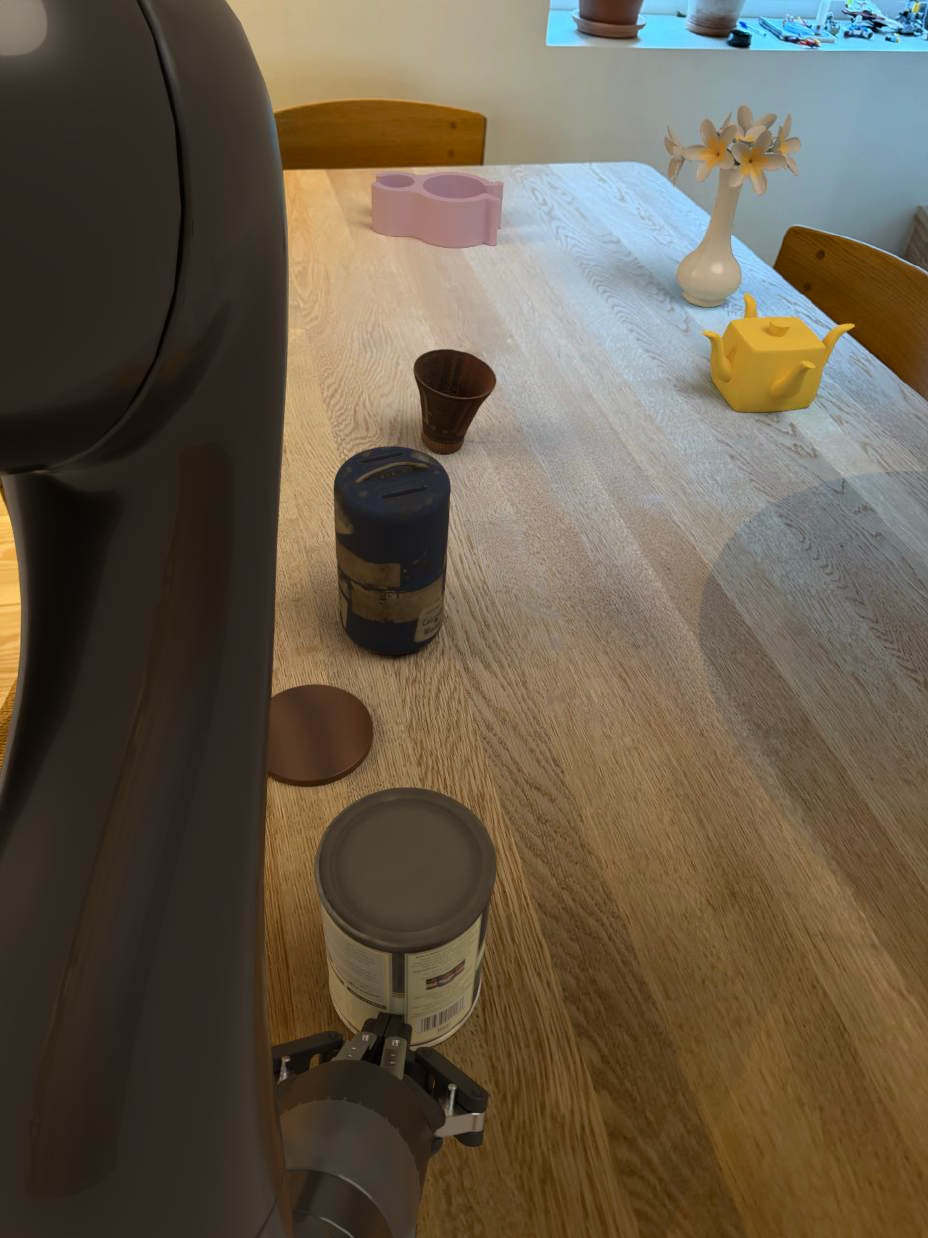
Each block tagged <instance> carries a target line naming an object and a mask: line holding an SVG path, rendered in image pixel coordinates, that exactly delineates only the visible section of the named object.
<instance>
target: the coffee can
mask: <svg viewBox="0 0 928 1238" xmlns="http://www.w3.org/2000/svg"><path fill="white" fill-rule="evenodd" d="M317 845H318V846H317V849H316V852H315V859H314V865H313V866H314V867H313V869H314V871H313V873H314V881H315V886H316V887H315V888H316V891H317V895H318V897H319V903H320V911H321V919H322V928H323V936H324V945H325V951H326V954H325V955H326V960H327V961H326V962H327V969H328V990H329V995H330V998H331V1002H332V1005H333V1007H334V1009H335V1011H336V1013H337V1015H338V1017H339V1019H340V1020H341V1021H342V1023H343V1024H344V1025H345V1026H346V1027H347V1029H349V1031H350V1032H351V1033H353V1034H354V1035H355V1034H356V1033H358V1032H361V1029H362V1027H363V1025H364V1022H365V1020H367V1019H369V1018H375V1019H377V1017H378V1014H379V1012H384V1013H389V1014H391V1015H392V1014H396V1015H403V1023H405V1024H410V1025H411V1026H412V1028H413V1030H412V1037H411V1044H410V1049H411V1050H412V1051H415V1052H416V1049H417V1048H418V1047H431V1048H432V1047H433V1046H436V1045H438V1044H440V1043H442V1042H444V1041H446V1040H447V1039H449V1038H450V1037H451V1036H452V1035H454V1034H456V1032H457V1031H458V1030H460V1028H462V1027H463V1025H464V1024H465V1023H466V1022H467V1020H468V1019H469V1018H470V1017H471V1015H472V1013H473V1011H474V1010H475V1007H476V1005H477V1003H478V1000H479V996H480V993H481V988H482V979H483V977H482V976H483V975H482V971H483V963H484V953H485V945H486V936H487V929H488V924H489V923H488V922H489V916H490V915H489V913H490V907H491V906H490V905H491V899H492V898H491V897H492V895H493V892H494V889H495V885H496V879H497V870H498V869H497V868H498V862H497V854H496V849H495V846H494V843H493V840H492V838H491V836H490V834H489V831H488V830H487V828H486V826H485V825H484V823H483V822H482V821H481V819H480V818H479V817H478V816H477V815H476V814H475V813H474V812H473V811H472V810H471V809H469V808H468V807H467V806H466V805H465V804H463V803H462V802H460V801H458V800H457V799H456V798H453V797H452V796H448V795H447V794H444V793H442V792H439V791H436V790H431V789H427V788H423V787H414V786H410V787H408V786H407V787H405V786H404V787H391V788H387V789H382V790H378V791H375V792H372V793H369V794H366V795H364V796H362V797H360V798H358V799H357V800H355V801H353V802H351V803H350V804H349V805H347V806H346V807H345V808H343V809H342V810H341V811H340V812H339V813H338V814H337V815H336V816H335V817H333V819H332V820H331V821H330V823H329V825H327V827H326V829H325V830H324V831H323V834H322V836H321V837H320V840H319V842H318V844H317Z"/></svg>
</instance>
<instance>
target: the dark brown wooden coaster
mask: <svg viewBox="0 0 928 1238" xmlns="http://www.w3.org/2000/svg"><path fill="white" fill-rule="evenodd" d="M369 711H370V710H368V707H367V706H366V705H365V703H363V702H362V701H361V700H360V699H359V698H358V697H357V696H355V695H354V694H352V693H351V692H349V691H347V690H346V689H342V688H340V687H337V686H333V685H329V684H328V685H327V684H320V683H319V684H318V683H317V684H316V683H314V684H311V683H310V684H303V685H297V686H294V687H289V688H287V689H285V690H283V691H280V692H278V693H277V694H274V695H272V699H271V716H270V734H269V760H268V777H271V778H272V779H274V780H276V781H278V782H281V783H283V784H287V785H290V786H296V787H317V786H325V785H328V784H331V783H335V782H337V781H339V780H342V779H343V778H345V777H347V776H348V775H350V774H351V773H353V772H354V771H355V770H356V769H358V767H360V766H361V764H363V762H364V761H365V760H366V758H367V757H368V756H369V754H370V752H371V749H372V746H373V742H374V722H373V719H372V716H371V712H369Z"/></svg>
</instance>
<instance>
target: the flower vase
mask: <svg viewBox="0 0 928 1238" xmlns="http://www.w3.org/2000/svg"><path fill="white" fill-rule="evenodd" d="M732 114H733V110H731V111H730V112H729V114H728V115H727V117H726V118H725V120H724V122H723V123H722V125H721V127H719V129H718V130H717V129H716V126H715V124H714V123H713V122H712V120H711V119H709V118H705V119H703V120H702V122H701V123H700V126H699V127H700V128H699V133H700V138H701V141H702V143H703V144H702V143H701V144H700V143H696V144H691V145H688V146H686V147H684V145H683V144H682V143H681V141H679V139H678V138H677V137H676V135H675V134H674V132H673V130H672V128H671V127H670V125H669V124H668V123H667V124H666V128H667V132H668V136H664V139H663V142H664V146H665V149H666V151H667V153H668V154H669V155H670V156H673V157H672V158H671V159H670V160H669V162H668V167H667V178H668V180H670V179H671V178H673V179H672V187H673V188H675V185H676V183H677V180H678V177H679V174H680V172H681V169H682V167H683V165H684V162H685V161H688V162H690V163H691V162H701V163H700V164H698V166H697V169H696V173H695V181H696V182H697V183H703V182H704V181H706V180H707V178H709V176H710V175H711V173H712V171H713V170H714V168H715V167H716V166H717V167H718V181H717V182H718V184H717V191H716V196H715V200H714V203H713V208H712V212H711V215H710V218H709V222H708V226H707V229H706V231H705V233H704V235H703V237H702V240H701V241H700V242H699V244H698V245H697V247H696V248H694V249H693V250H692V251H691V252H689V253H688V254H686V255H685V256H684V257H683V258H682V260H681V261H680V262H679V264H678V266H677V267H676V270H675V271H676V272H675V278H676V281H677V283H678V286H679V287H680V289H681V290H682V296H683V298H684V300H685V301H687V303H690V304H691V305H694V306H698V307H702V308H715V307H716V308H717V307H719V306H721V305H723V304H724V303H725V302H726V300H727V299H728V298H729V297H730V296H732V295H734V294H735V293H736V292H737V291H738V289H739V288H740V286H741V285H742V281H743V274H742V267H741V265H740V263H739V261H738V260H737V259H736V257H735V255H734V253H733V247H732V232H733V225H734V221H735V215H736V210H737V206H738V201H739V197H740V195H741V191H742V188H743V186H744V183H745V182H746V181H747V180H748V179H749V183H750V186H751V188H752V190H753V192H754V194H756V195H758V196H763V195H765V194H766V192H767V190H768V177H767V175H766V172H775V171H778V170H781V169H784V170H785V171H786V170H787V169H789V171H790V172H791V173H792V174H793V176H795V177H799V170H798V165H797V163H796V160H795V159H794V158H793V157H792V155H795V154H797V153H798V152H799V151H800V150H801V147H802V141H801V139H800V138H799V137H798V136H790V133H791V130H792V115H791V113H788V114H787V115H786V117H785V120H784V121H783V125H778V126H779V127H778V130H777V135H773V134H772V131H771V130H769V129H771V127H773V125H774V124H775V123H776V122H777V120H778V119H777V118H778V115H777V114H776V113H774V112H771V113H767V114H764V115H763V116H761V117H759V118H758V119H757V120H756V121H755V119H754V115H753V112H752V109H751V108H750V107H749V106H748V105H746V104H742V105H740V106H739V107H738V108H737V111H736V119H737V123H736V122H732V121H731V118H732ZM754 121H755V122H754ZM789 136H790V137H789ZM774 140H775V141H774ZM732 143H733V144H732ZM731 144H732V145H731ZM730 145H731V146H730ZM729 146H730V149H729ZM765 171H766V172H765Z"/></svg>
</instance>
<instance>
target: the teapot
mask: <svg viewBox="0 0 928 1238" xmlns="http://www.w3.org/2000/svg"><path fill="white" fill-rule="evenodd" d="M743 300H744V315H743V318H737V319H732V320H730V321H729V322H728V324H727V326H726V328H725V331H724V332H723V334H722V336H721V335H720V334H719V333H718V332H716V331H712V330H701V331H700V334H702V336H705V337H706V338H708V340H709V342H710V345H711V347H710V359H709V360H710V361H709V362H710V368H711V374H710V375H711V380H712V383H713V384H714V386H715V387H716V388H717V390H718V392H719V393H720V394H721V396H722V397H723V398H724V399H725V401H726V402H727V403H728V405H729V406H730V407H731V408H732V410H734V411H735V412H737V413H775V412H786V411H792V410H793V411H795V410H801V409H805V408H809V407H810V406H811V405H812V403H813V401H814V400H815V398H816V396H817V393H818V391H819V387H820V384H821V381H822V380H821V379H822V376H823V372H824V371H823V370H824V367H825V366H826V365H827V363H828V361H829V359H830V357H831V355H832V352H833V350H834V348H835V346H836V344H837V342H838V341H839V339H840V338H841V337H842V336H843V335H844V334H845V333H847V332H849V331H850V330H851V329H854V328H855V327H856V326H855V324H854V323H843V324H839V325H836V326H834V327H833V328H832V329H831V330H829V331H828V333H827V334H826V335H825V336H824V338H822V340H821V339H820V337H818V336H817V334H816V333H815V332H814V331H813V330H812V329H811V328H810V327H809V326H808V325H807V324H806V323H805V322H804V321H803V320H802V319H801V318H799V317H798V316H758V307H757V302H756V300H755V298H754V296H752V295H751V294H750V293H744V294H743Z"/></svg>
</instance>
